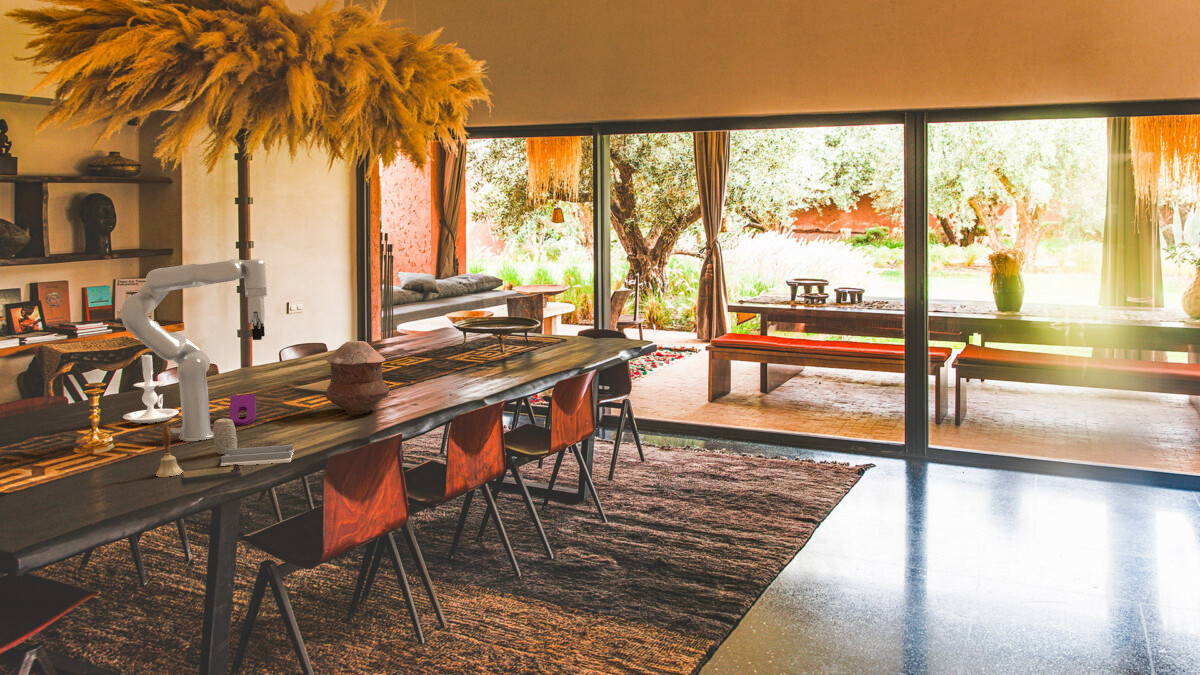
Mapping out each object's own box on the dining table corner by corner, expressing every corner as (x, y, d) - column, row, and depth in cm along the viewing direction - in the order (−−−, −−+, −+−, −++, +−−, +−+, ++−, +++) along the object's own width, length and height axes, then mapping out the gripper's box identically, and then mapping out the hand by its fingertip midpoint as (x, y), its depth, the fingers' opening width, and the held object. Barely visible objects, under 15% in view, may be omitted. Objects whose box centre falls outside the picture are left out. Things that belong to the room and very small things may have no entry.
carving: (214, 452, 329) (212, 418, 327) (237, 449, 332) (235, 416, 330) (214, 456, 323) (212, 422, 322) (238, 454, 326) (235, 420, 324)
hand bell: (149, 476, 300) (145, 427, 298) (169, 469, 307) (166, 422, 305) (169, 478, 297) (165, 429, 295) (189, 471, 304) (185, 423, 302)
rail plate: (220, 467, 309) (220, 458, 309) (227, 456, 323) (226, 448, 323) (290, 462, 314) (289, 453, 314) (293, 451, 328) (293, 443, 328)
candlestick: (189, 413, 394) (184, 347, 390) (170, 426, 370) (165, 356, 366) (137, 415, 391) (132, 349, 388) (115, 428, 367) (109, 358, 363)
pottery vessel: (315, 417, 382) (311, 345, 378) (342, 405, 407) (339, 336, 403) (375, 419, 378) (371, 346, 374) (398, 406, 403) (395, 337, 399)
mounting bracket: (256, 437, 375) (256, 410, 390) (254, 420, 371) (255, 394, 385) (231, 439, 372) (232, 412, 387) (229, 422, 368) (230, 395, 382)
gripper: (248, 291, 356) (251, 335, 358) (242, 295, 339) (245, 341, 342) (269, 290, 358) (271, 334, 360) (263, 294, 341) (266, 340, 343)
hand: (258, 338), depth 351 cm, fingers open, 9 cm apart
